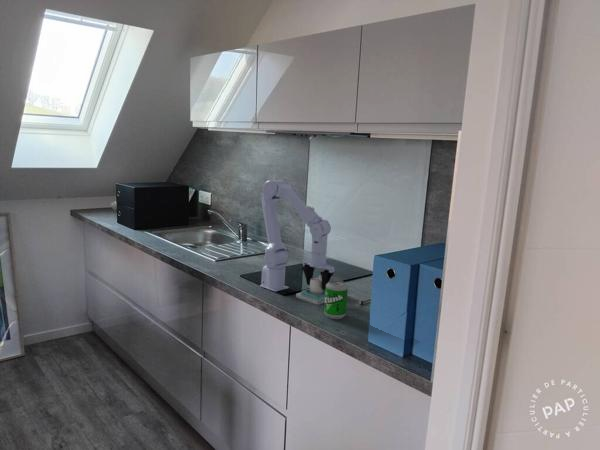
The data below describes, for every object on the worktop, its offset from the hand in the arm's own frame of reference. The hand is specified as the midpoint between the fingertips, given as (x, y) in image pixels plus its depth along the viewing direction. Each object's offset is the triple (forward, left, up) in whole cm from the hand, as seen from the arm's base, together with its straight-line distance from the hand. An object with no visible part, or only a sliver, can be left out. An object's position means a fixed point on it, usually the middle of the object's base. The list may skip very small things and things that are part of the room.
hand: (316, 286), depth 176 cm
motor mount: (0, +4, -5) cm, 6 cm away
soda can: (+17, -10, -5) cm, 20 cm away
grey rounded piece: (0, 0, -3) cm, 3 cm away
